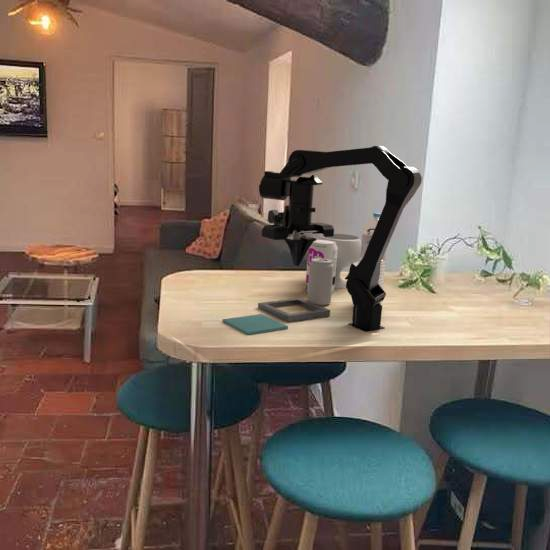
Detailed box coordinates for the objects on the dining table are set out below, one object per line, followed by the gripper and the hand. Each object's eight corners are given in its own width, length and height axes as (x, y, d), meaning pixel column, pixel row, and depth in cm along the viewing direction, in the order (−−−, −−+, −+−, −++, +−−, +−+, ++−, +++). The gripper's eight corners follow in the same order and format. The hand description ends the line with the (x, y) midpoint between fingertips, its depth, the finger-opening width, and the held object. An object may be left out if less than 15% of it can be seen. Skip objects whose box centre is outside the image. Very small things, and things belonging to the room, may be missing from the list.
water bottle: (351, 305, 167) (359, 212, 162) (360, 300, 173) (368, 210, 168) (376, 310, 164) (385, 215, 159) (384, 305, 170) (393, 213, 165)
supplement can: (319, 298, 173) (323, 244, 170) (299, 291, 180) (302, 240, 176) (339, 294, 179) (343, 243, 175) (319, 288, 185) (323, 238, 181)
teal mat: (287, 328, 144) (288, 326, 144) (247, 335, 138) (247, 332, 138) (261, 316, 153) (261, 313, 153) (222, 321, 147) (222, 319, 146)
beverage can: (334, 303, 169) (338, 260, 166) (323, 308, 163) (327, 263, 161) (313, 299, 172) (316, 256, 169) (302, 303, 166) (305, 259, 164)
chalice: (367, 285, 192) (371, 237, 188) (345, 293, 180) (350, 242, 177) (327, 278, 199) (331, 231, 196) (304, 285, 188) (307, 235, 185)
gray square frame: (329, 315, 156) (330, 310, 156) (288, 322, 149) (288, 316, 149) (298, 303, 167) (298, 297, 166) (257, 308, 159) (258, 303, 159)
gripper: (309, 198, 164) (305, 256, 167) (250, 199, 153) (247, 261, 156) (337, 203, 155) (332, 265, 158) (277, 204, 144) (273, 270, 147)
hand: (296, 265), depth 155 cm, fingers closed
